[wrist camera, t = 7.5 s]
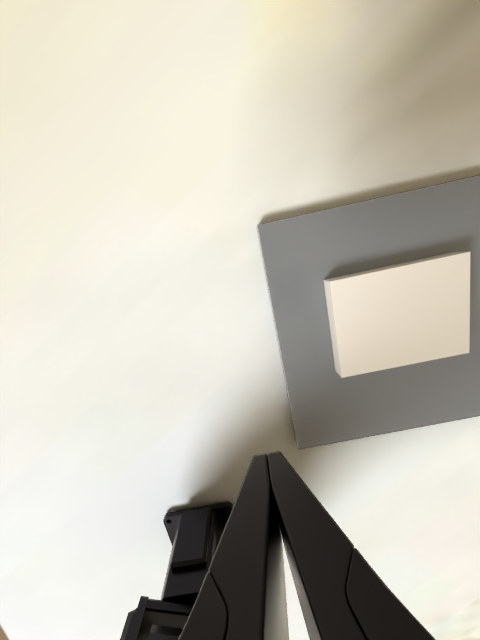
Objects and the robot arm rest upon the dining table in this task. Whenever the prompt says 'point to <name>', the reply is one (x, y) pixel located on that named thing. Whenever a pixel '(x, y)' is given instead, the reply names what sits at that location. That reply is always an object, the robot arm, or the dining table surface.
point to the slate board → (353, 257)
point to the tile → (400, 314)
